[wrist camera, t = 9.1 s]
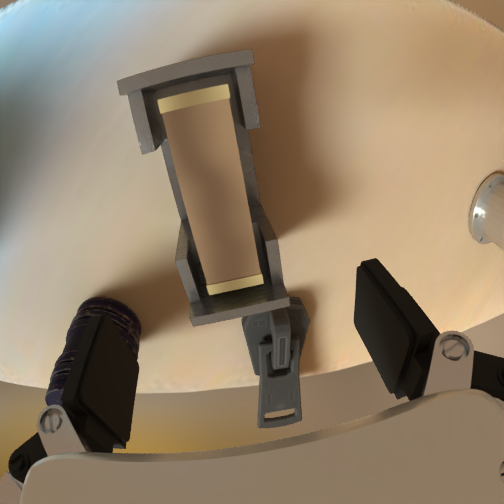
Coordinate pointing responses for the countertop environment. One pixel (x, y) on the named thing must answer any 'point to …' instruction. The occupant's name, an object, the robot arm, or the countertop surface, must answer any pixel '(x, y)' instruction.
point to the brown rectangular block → (212, 186)
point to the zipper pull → (277, 359)
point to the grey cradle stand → (244, 118)
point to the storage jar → (94, 306)
